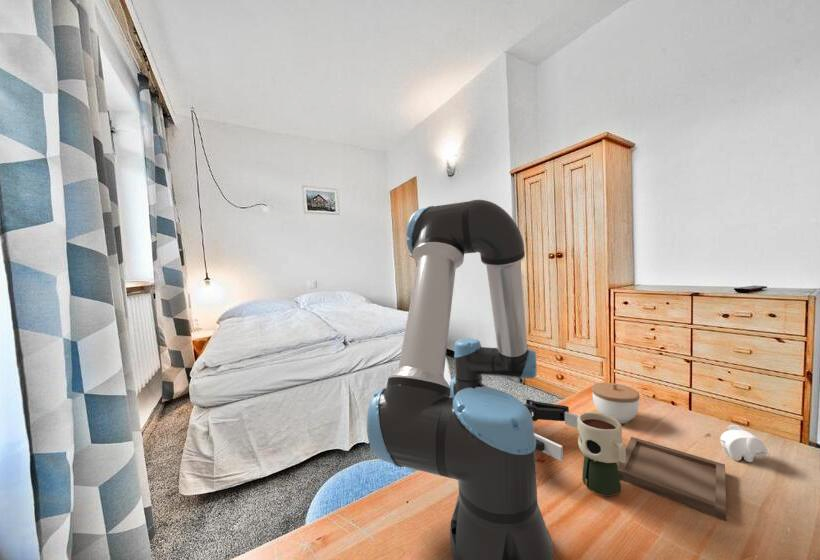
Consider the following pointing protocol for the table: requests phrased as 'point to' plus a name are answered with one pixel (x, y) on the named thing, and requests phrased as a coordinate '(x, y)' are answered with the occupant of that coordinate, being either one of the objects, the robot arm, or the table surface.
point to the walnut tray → (676, 476)
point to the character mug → (601, 451)
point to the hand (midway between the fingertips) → (579, 440)
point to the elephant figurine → (741, 444)
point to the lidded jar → (616, 401)
